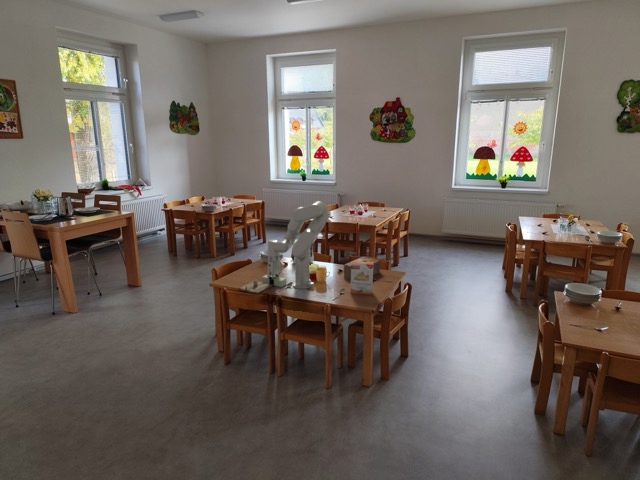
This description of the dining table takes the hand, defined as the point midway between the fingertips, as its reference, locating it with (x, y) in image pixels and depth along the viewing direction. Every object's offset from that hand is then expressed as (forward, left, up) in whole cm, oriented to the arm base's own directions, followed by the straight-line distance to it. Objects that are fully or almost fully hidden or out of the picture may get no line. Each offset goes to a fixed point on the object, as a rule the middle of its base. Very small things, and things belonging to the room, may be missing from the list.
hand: (274, 282), depth 291 cm
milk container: (+7, -49, -1) cm, 49 cm away
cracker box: (-59, -14, -1) cm, 61 cm away
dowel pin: (+9, +19, +1) cm, 21 cm away
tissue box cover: (-45, -47, -1) cm, 65 cm away
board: (+6, +13, 0) cm, 14 cm away
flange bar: (0, 0, 0) cm, 0 cm away
